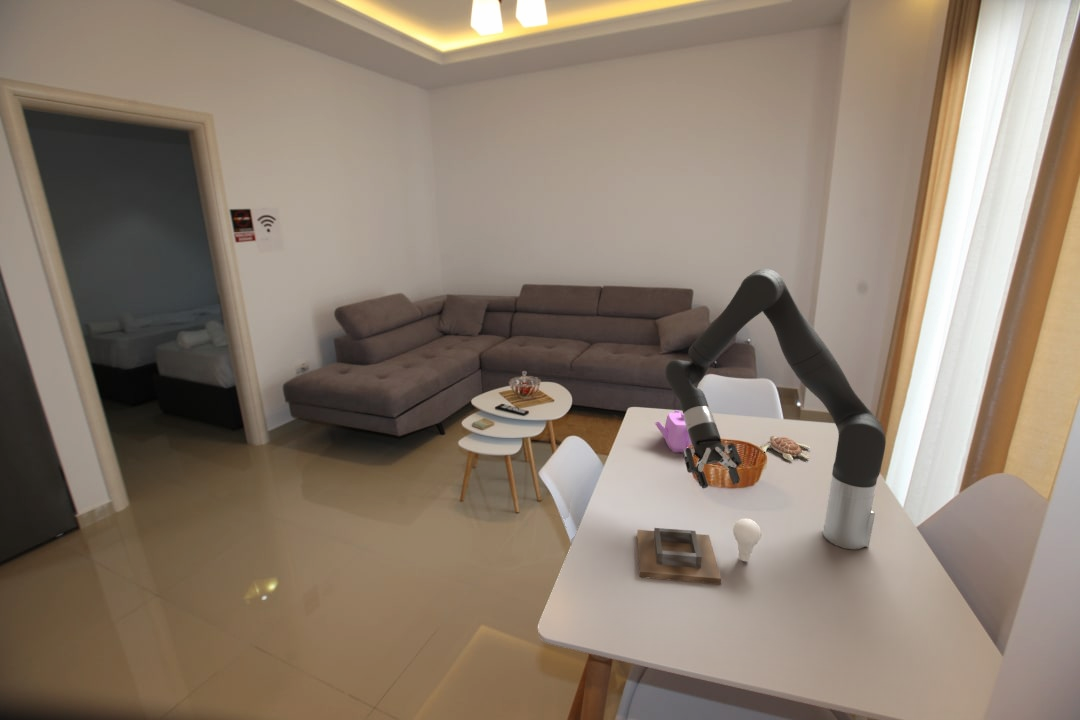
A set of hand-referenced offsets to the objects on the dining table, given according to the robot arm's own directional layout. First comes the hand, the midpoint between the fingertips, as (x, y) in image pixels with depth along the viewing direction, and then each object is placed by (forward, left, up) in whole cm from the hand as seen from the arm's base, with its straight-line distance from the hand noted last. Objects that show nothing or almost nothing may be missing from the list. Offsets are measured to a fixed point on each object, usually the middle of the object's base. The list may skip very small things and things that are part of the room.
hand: (721, 485), depth 122 cm
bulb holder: (+12, +11, -14) cm, 21 cm away
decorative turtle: (-32, -52, -15) cm, 63 cm away
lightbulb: (-4, +10, -14) cm, 18 cm away
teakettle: (+3, -54, -15) cm, 56 cm away
